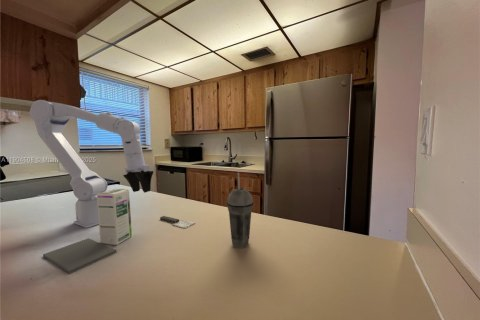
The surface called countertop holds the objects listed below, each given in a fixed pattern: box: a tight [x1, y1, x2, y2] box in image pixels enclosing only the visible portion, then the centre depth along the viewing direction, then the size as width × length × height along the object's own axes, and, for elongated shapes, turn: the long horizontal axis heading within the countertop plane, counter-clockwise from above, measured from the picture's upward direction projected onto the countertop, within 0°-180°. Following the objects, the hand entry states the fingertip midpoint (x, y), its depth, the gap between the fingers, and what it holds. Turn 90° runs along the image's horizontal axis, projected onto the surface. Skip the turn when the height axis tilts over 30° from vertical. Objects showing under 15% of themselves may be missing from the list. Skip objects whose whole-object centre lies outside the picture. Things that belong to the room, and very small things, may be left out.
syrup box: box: [97, 188, 133, 246], centre depth 59 cm, size 6×6×14 cm
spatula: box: [159, 215, 196, 229], centre depth 73 cm, size 14×5×1 cm, turn 61°
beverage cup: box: [226, 172, 254, 249], centre depth 56 cm, size 7×7×20 cm
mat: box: [42, 237, 117, 274], centre depth 52 cm, size 14×10×1 cm
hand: (141, 191), depth 74 cm, fingers open, 7 cm apart
